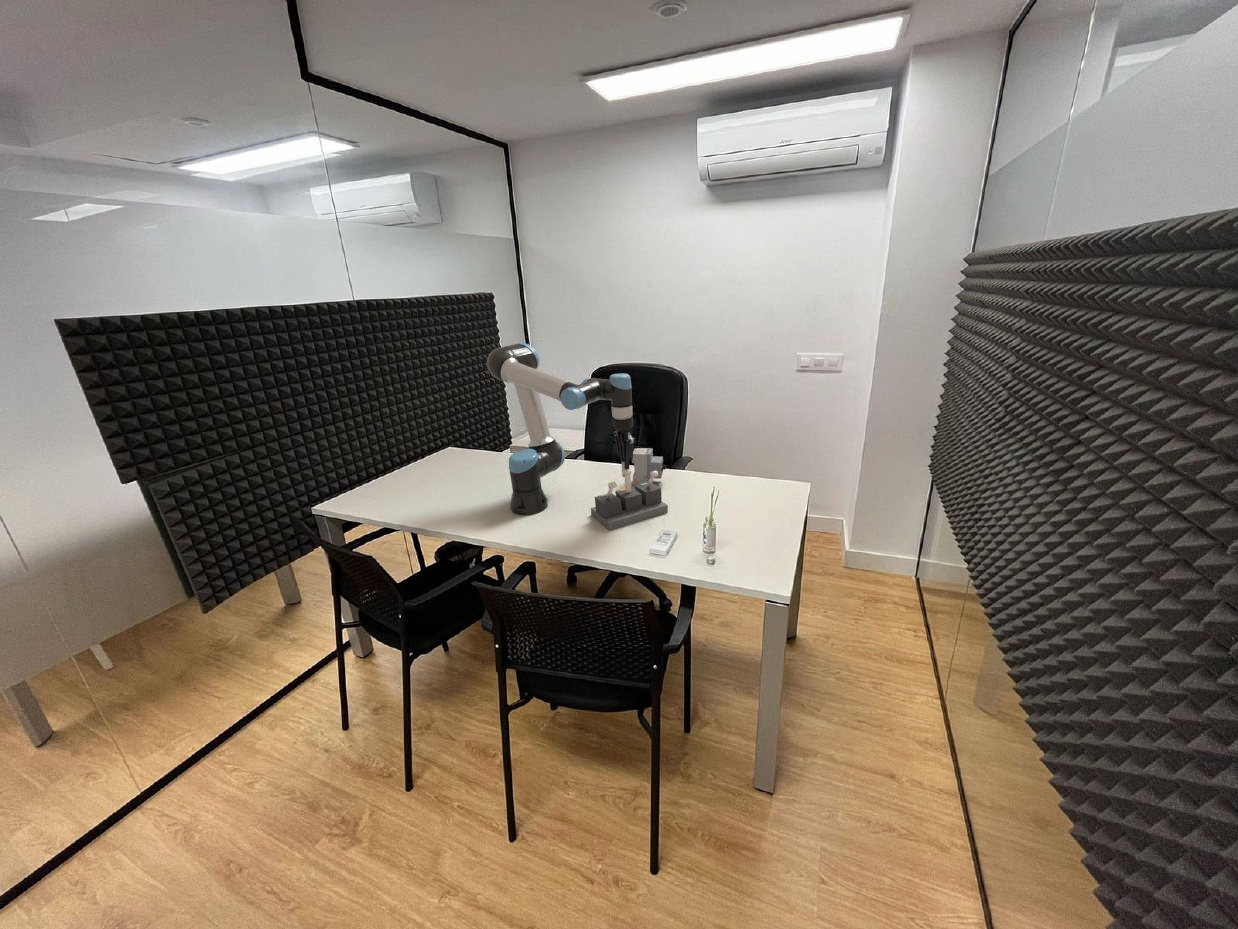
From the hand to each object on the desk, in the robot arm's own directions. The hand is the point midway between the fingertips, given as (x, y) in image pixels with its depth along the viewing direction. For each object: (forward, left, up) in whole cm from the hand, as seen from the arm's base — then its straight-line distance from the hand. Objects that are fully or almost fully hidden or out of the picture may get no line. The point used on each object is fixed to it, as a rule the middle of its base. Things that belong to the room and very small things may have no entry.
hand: (626, 476), depth 185 cm
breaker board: (+2, 0, -15) cm, 15 cm away
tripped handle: (+2, 0, -6) cm, 6 cm away
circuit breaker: (-19, +23, -16) cm, 34 cm away
